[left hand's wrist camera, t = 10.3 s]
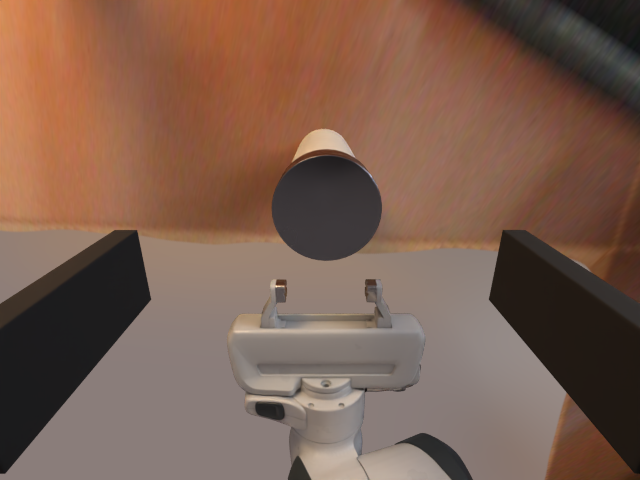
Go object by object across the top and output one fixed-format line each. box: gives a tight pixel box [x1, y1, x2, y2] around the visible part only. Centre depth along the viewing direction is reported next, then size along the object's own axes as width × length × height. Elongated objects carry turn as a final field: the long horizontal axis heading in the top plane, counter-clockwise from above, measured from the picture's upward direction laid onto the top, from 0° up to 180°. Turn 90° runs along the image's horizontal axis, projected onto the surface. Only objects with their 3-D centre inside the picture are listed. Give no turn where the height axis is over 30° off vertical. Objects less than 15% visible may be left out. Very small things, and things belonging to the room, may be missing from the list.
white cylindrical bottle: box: [292, 129, 355, 162], centre depth 28 cm, size 5×5×19 cm
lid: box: [272, 149, 382, 261], centre depth 20 cm, size 6×6×2 cm
